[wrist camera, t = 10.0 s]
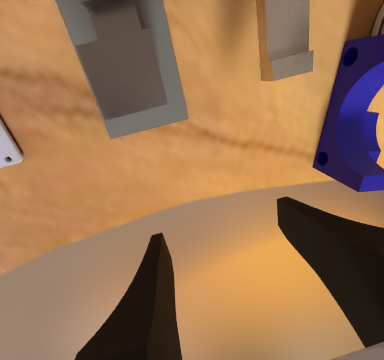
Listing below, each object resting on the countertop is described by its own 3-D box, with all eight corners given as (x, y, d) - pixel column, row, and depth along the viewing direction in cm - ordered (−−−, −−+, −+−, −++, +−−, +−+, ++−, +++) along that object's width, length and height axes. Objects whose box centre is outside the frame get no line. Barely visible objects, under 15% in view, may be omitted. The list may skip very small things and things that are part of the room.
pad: (111, 137, 19) (110, 139, 19) (41, -41, 14) (37, -46, 14) (187, 117, 20) (188, 118, 19) (147, -63, 14) (147, -68, 14)
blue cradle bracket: (347, 165, 25) (401, 188, 20) (312, 167, 24) (358, 192, 19) (387, 43, 20) (474, 30, 15) (345, 41, 19) (420, 27, 14)
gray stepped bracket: (121, 105, 18) (105, 120, 12) (80, -9, 15) (27, -75, 8) (162, 95, 18) (168, 104, 12) (131, -20, 15) (117, -93, 8)
